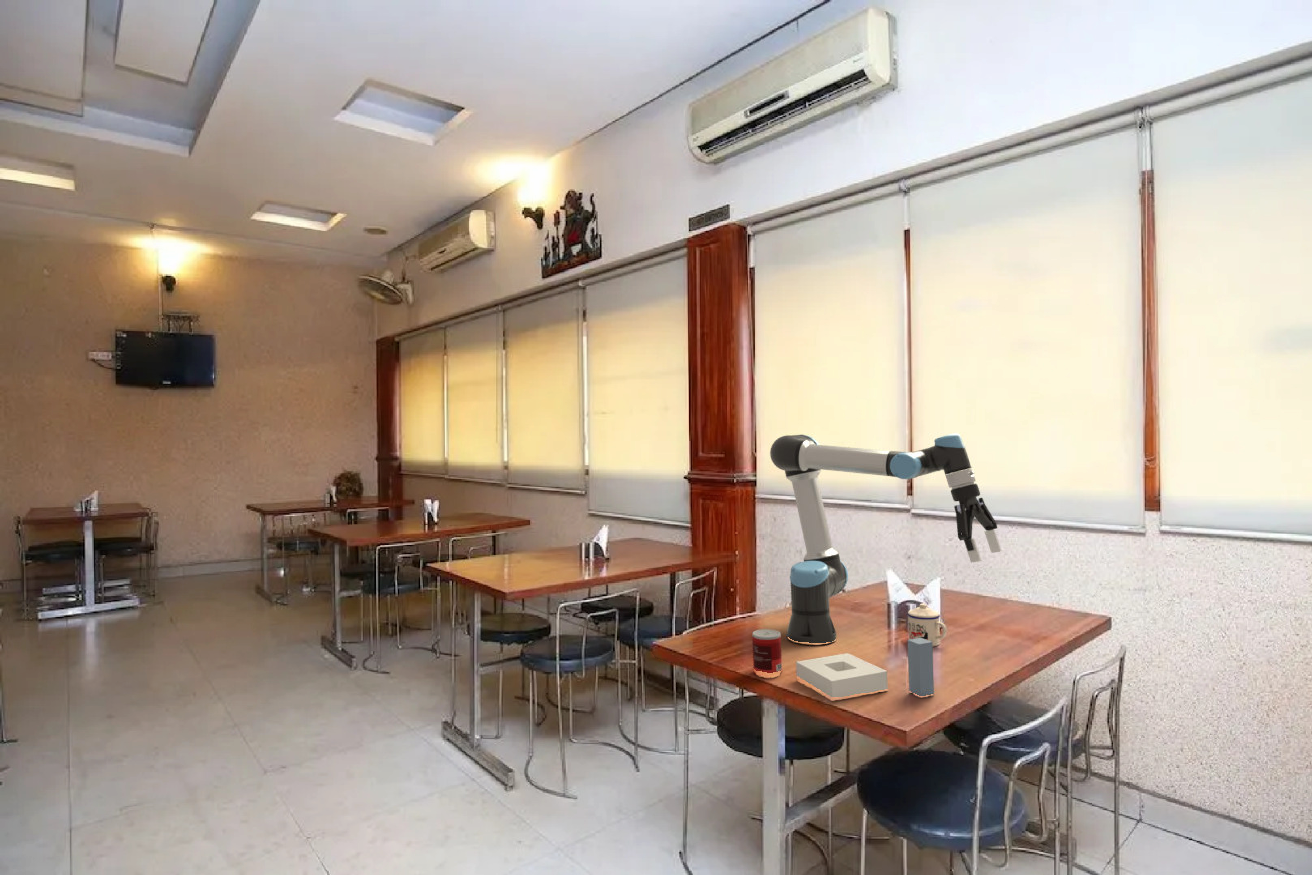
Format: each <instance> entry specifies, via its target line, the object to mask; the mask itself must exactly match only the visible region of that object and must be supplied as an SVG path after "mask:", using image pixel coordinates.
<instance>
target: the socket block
mask: <svg viewBox="0 0 1312 875" xmlns="http://www.w3.org/2000/svg"><path fill="white" fill-rule="evenodd" d="M795 670H796V676H798V677H800V678H801V679H803V680H805V681H806V682H808V683H809V684H812V685H813V686H814V687H816V688H817V689H820V690H821V691H822V692H824V693H826V694H827V695H829V696H830V697H844V696H850V695H854V694H861V693H870V692H875V691H879V690H885V689H889V687H888V685H889V684H888V671H887V670H885V669H883V668H880V667H879V666H877V665H874V664H873V663H870V662H868V661H866V660H864V659H861V658H859V657H857V656H855V655H853V654H851V653H847V652H846V653H841V654H840V653H839V654H834V655H829V656H821V657H816V658H809V659H805V660H797V661H795ZM796 676H795V677H796Z"/></svg>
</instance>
